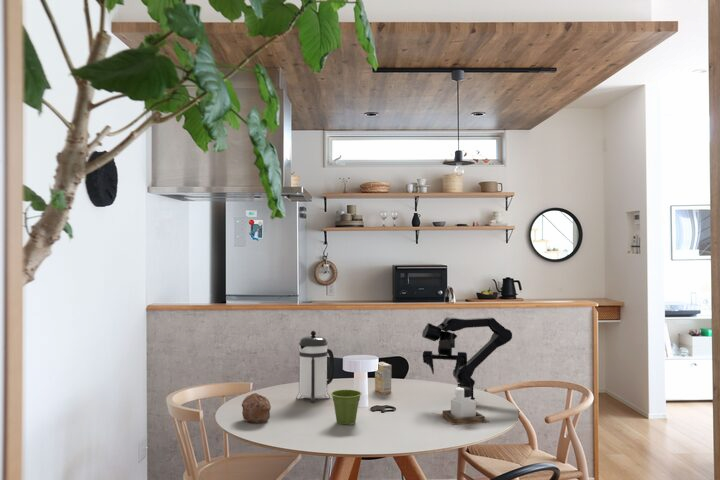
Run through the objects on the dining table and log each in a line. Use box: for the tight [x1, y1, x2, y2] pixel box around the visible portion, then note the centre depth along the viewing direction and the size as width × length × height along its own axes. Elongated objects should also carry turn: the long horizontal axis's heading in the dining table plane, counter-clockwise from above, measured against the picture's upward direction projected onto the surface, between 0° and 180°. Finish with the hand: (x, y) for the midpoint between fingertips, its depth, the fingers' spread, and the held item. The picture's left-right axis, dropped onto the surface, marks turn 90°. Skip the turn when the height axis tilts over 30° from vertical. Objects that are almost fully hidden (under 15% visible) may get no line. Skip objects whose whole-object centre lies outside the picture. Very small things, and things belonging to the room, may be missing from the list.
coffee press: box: [295, 330, 335, 404], centre depth 280 cm, size 17×16×30 cm
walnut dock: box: [436, 409, 491, 426], centre depth 247 cm, size 16×16×3 cm
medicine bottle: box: [450, 386, 477, 418], centre depth 248 cm, size 7×7×12 cm
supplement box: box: [374, 361, 392, 395], centre depth 293 cm, size 8×5×13 cm, turn 25°
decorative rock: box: [241, 392, 272, 424], centre depth 244 cm, size 13×11×10 cm
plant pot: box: [330, 389, 363, 425], centre depth 241 cm, size 12×12×11 cm
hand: (444, 374), depth 266 cm, fingers open, 9 cm apart
